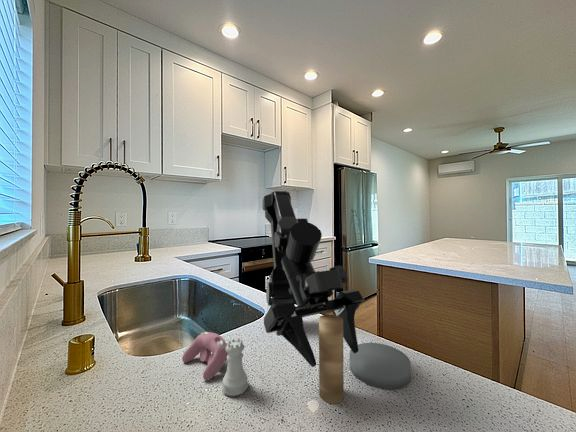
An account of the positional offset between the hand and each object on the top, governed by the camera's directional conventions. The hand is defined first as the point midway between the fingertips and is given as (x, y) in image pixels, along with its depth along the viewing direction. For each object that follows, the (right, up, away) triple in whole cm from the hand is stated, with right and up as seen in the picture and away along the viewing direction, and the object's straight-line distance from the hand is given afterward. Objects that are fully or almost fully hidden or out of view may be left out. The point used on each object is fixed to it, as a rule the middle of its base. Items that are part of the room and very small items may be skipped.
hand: (336, 358), depth 41 cm
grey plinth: (+10, -7, +8) cm, 14 cm away
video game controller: (-24, -7, +10) cm, 27 cm away
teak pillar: (-1, -7, +1) cm, 7 cm away
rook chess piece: (-17, -7, +3) cm, 18 cm away
